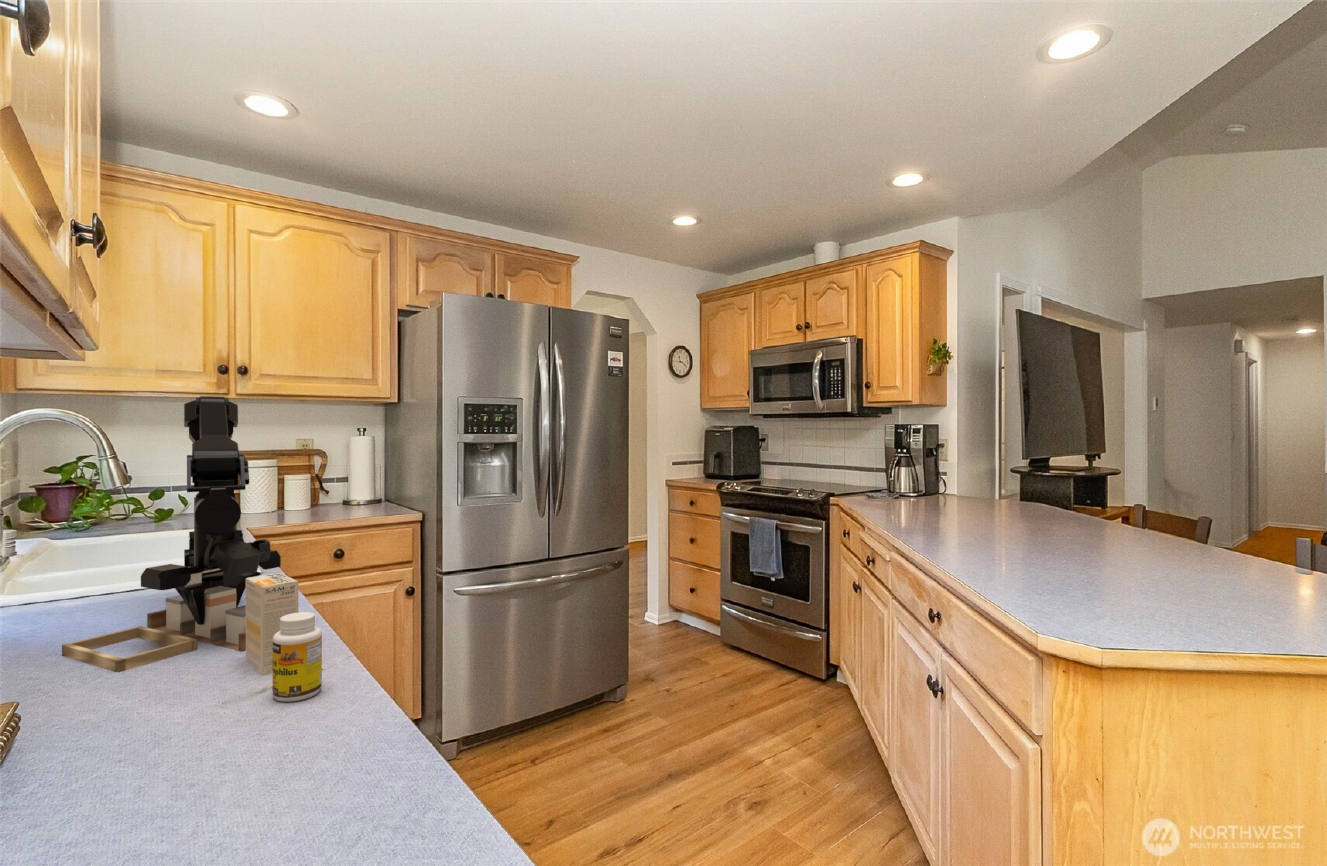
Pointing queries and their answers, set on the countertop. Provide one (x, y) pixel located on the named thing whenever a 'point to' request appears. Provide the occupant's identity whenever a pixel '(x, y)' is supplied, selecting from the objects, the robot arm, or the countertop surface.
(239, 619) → the block
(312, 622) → the supplement bottle
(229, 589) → the beige striped box
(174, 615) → the grey beige rectangular block
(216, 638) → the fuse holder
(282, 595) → the supplement box
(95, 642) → the tray
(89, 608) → the countertop surface
